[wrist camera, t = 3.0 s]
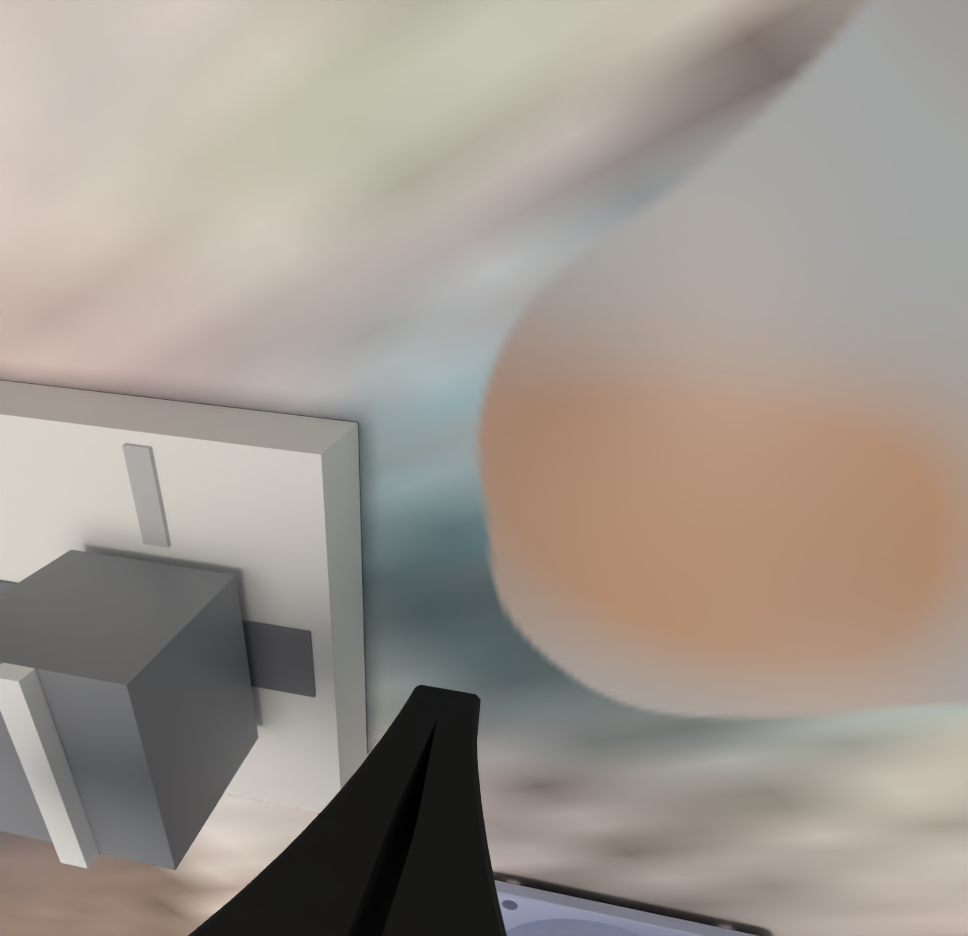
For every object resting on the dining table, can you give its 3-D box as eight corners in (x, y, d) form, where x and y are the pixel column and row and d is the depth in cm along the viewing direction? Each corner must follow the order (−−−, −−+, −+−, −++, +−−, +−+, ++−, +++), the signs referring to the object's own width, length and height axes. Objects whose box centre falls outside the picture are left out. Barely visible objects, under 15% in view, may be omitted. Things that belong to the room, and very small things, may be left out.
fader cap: (235, 575, 12) (112, 699, 9) (258, 737, 14) (164, 886, 11) (70, 549, 12) (-103, 659, 9) (116, 710, 14) (-14, 845, 11)
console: (357, 422, 13) (318, 456, 11) (367, 755, 17) (340, 821, 15) (-257, 349, 15) (-382, 367, 13) (-104, 666, 19) (-180, 714, 17)
